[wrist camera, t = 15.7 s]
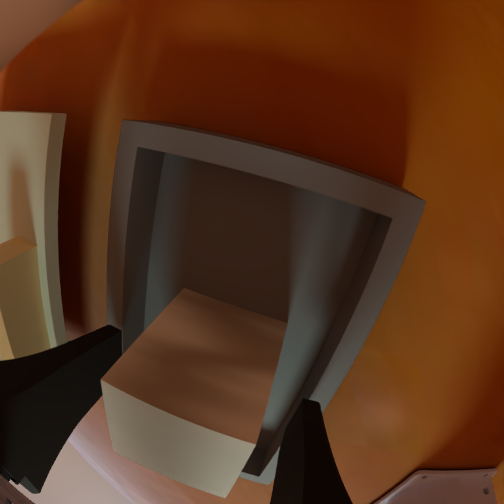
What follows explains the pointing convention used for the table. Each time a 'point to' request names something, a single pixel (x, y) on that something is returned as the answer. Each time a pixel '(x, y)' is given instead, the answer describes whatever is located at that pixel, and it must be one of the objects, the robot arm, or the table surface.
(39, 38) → the table surface
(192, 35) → the table surface
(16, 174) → the lid
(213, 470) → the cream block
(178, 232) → the grey storage tray
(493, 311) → the table surface
